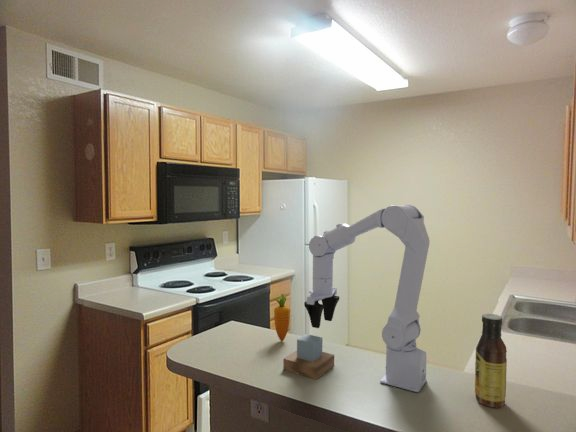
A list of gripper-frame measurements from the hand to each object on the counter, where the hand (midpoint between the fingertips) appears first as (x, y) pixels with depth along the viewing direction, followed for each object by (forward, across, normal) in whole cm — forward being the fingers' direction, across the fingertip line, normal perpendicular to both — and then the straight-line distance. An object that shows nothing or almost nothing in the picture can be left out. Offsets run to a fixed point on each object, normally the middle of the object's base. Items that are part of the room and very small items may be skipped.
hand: (322, 323), depth 116 cm
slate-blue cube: (+6, +9, +1) cm, 11 cm away
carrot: (+10, -3, -16) cm, 19 cm away
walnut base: (+9, +9, +1) cm, 13 cm away
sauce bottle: (+10, +2, +44) cm, 45 cm away
